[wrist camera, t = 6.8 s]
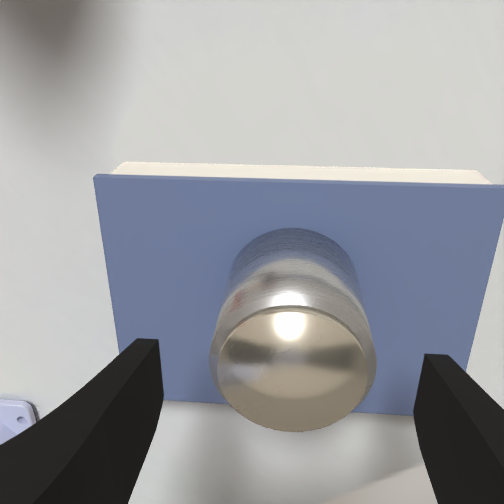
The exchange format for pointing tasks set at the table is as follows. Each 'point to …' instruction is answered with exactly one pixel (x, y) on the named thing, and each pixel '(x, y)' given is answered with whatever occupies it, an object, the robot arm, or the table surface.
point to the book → (305, 217)
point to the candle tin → (293, 333)
